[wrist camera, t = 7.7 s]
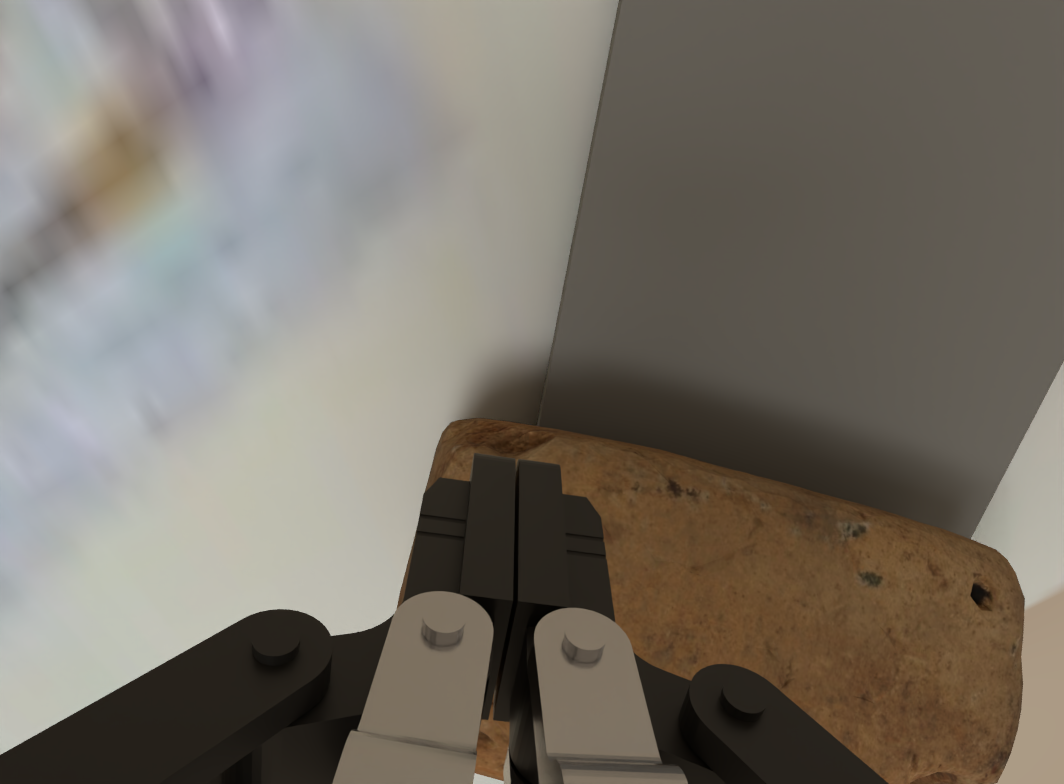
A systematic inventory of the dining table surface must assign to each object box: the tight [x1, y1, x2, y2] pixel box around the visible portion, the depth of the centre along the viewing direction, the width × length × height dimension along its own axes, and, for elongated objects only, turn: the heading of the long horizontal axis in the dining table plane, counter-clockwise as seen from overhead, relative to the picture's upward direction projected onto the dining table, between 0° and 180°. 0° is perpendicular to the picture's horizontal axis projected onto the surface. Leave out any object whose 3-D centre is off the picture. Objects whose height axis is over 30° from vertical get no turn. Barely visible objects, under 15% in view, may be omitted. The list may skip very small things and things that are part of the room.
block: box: [397, 418, 1025, 784], centre depth 27 cm, size 11×8×20 cm
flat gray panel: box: [537, 0, 1064, 539], centre depth 28 cm, size 20×18×1 cm
